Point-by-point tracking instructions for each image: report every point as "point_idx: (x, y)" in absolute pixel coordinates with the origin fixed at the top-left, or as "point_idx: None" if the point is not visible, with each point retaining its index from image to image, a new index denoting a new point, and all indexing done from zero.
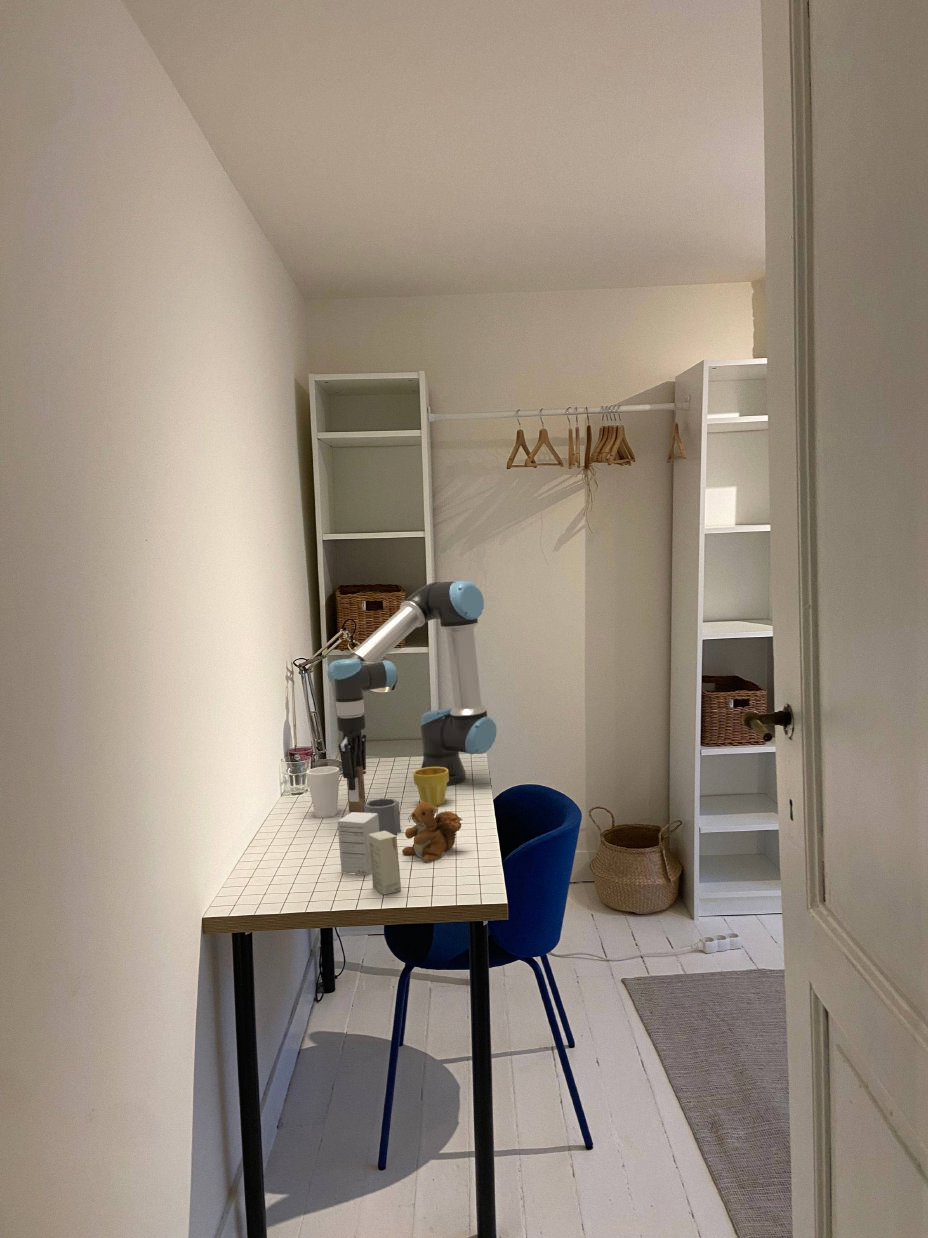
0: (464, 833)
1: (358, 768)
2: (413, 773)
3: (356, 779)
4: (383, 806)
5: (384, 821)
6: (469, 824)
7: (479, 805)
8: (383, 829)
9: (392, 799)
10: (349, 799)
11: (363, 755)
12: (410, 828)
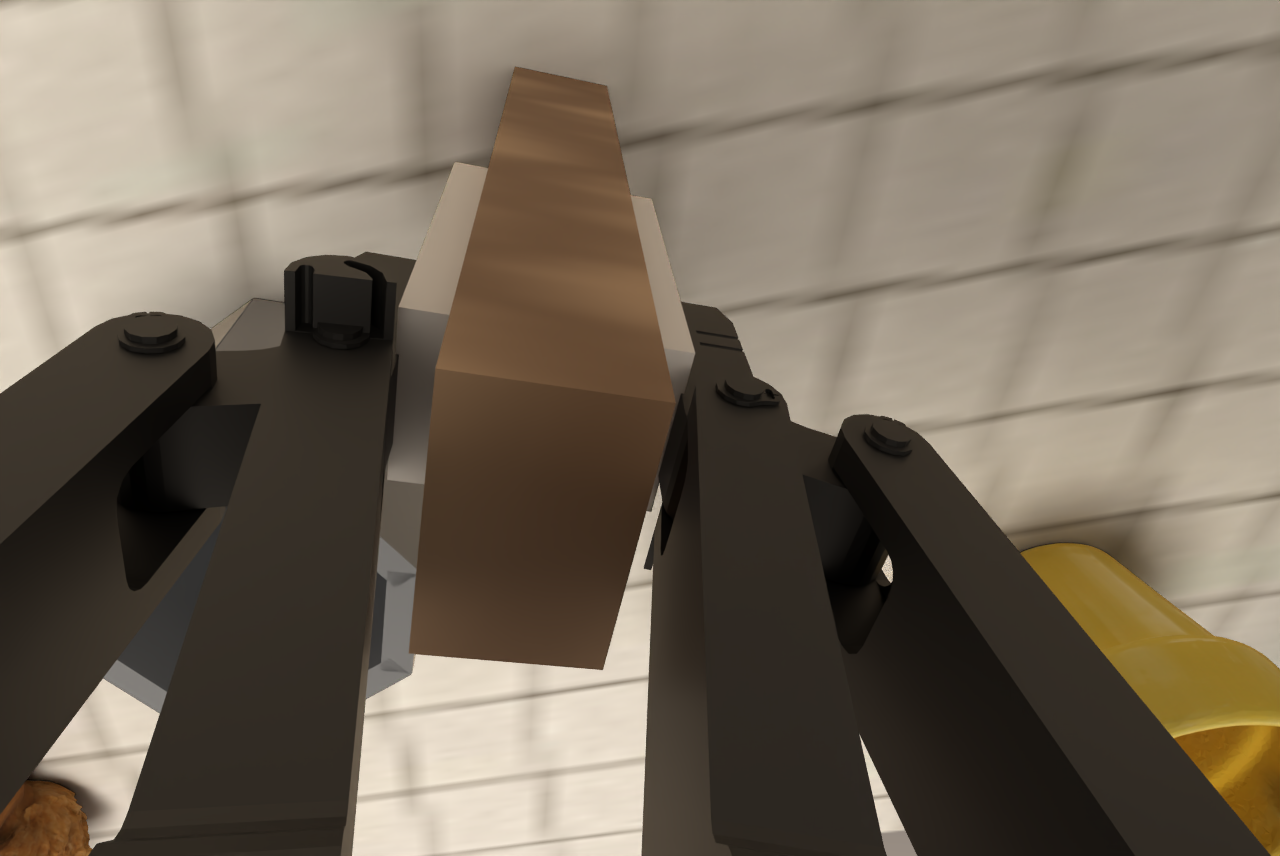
0: (355, 829)
1: (420, 639)
2: (1202, 721)
3: (389, 464)
4: None
5: None
6: (522, 825)
7: (889, 812)
8: None
9: (378, 673)
10: (451, 174)
11: (903, 819)
12: None
